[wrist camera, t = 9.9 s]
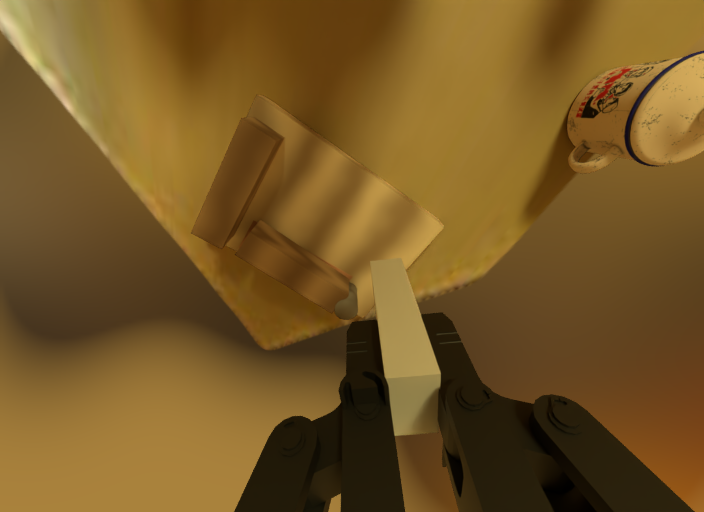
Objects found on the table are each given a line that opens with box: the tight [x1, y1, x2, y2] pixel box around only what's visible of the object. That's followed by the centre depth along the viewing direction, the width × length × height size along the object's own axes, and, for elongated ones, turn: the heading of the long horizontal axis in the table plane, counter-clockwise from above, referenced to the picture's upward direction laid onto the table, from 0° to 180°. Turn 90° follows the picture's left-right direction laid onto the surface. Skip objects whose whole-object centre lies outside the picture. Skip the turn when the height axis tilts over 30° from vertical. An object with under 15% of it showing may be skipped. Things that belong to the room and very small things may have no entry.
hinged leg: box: [235, 220, 358, 320], centre depth 36 cm, size 16×4×4 cm, turn 51°
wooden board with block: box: [191, 95, 444, 318], centre depth 35 cm, size 26×18×7 cm
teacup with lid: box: [567, 51, 704, 173], centre depth 27 cm, size 12×9×12 cm
